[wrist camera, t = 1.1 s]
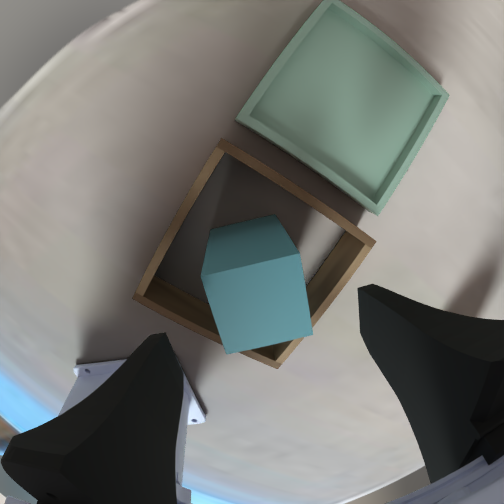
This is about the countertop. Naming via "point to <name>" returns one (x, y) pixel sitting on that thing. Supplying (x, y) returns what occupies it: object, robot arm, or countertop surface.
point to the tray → (346, 104)
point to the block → (255, 285)
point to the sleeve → (318, 290)
